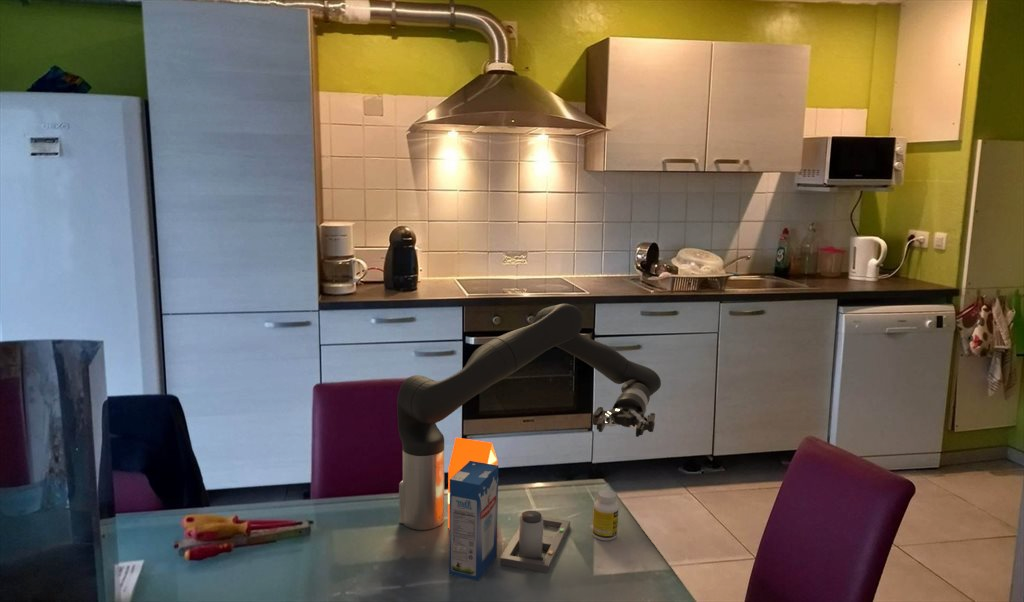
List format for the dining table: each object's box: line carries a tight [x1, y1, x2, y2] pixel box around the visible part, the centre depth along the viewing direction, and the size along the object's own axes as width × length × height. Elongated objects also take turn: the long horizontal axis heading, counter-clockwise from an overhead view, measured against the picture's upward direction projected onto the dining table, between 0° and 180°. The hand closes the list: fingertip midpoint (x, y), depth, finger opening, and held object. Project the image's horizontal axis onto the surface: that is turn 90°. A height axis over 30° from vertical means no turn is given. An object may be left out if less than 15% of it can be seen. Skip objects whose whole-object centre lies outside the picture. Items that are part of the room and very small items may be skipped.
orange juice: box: [447, 437, 498, 529], centre depth 166 cm, size 8×9×20 cm
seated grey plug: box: [518, 510, 544, 561], centre depth 154 cm, size 5×5×9 cm
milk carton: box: [448, 461, 499, 582], centre depth 149 cm, size 10×6×20 cm, turn 160°
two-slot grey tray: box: [499, 515, 571, 574], centre depth 159 cm, size 10×20×2 cm, turn 163°
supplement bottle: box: [591, 489, 620, 541], centre depth 163 cm, size 5×5×10 cm
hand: (618, 430), depth 170 cm, fingers open, 8 cm apart
